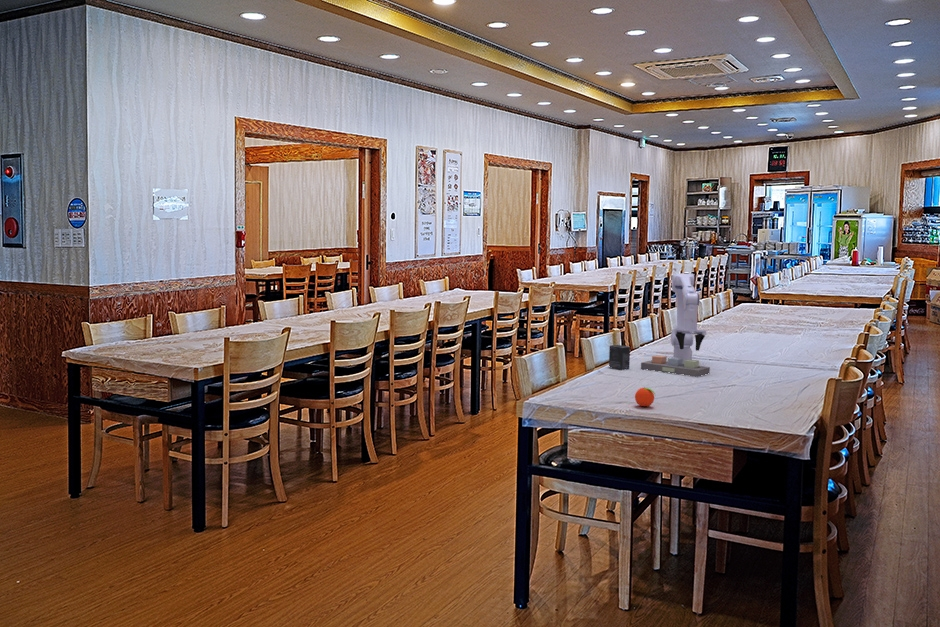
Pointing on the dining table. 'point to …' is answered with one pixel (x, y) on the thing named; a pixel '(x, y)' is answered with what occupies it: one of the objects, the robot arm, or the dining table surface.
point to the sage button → (691, 363)
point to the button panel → (675, 368)
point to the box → (619, 356)
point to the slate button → (675, 361)
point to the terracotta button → (659, 359)
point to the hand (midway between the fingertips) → (689, 349)
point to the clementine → (644, 396)
